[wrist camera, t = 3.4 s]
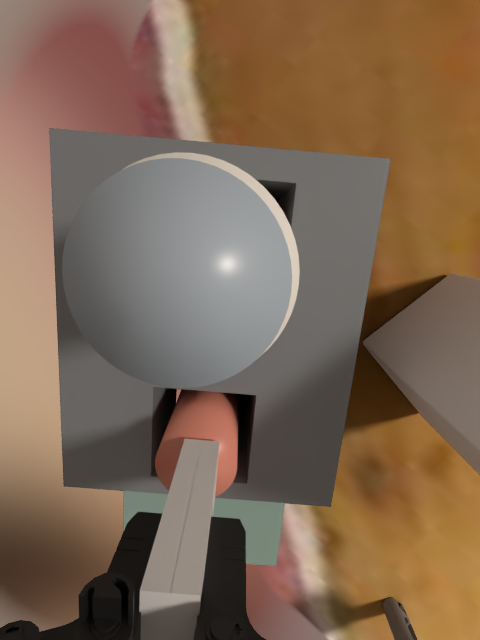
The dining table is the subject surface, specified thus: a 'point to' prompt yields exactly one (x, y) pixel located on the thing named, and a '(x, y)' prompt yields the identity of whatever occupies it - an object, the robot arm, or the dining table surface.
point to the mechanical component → (398, 620)
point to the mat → (254, 515)
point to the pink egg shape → (201, 433)
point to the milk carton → (438, 360)
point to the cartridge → (180, 270)
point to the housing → (265, 372)
